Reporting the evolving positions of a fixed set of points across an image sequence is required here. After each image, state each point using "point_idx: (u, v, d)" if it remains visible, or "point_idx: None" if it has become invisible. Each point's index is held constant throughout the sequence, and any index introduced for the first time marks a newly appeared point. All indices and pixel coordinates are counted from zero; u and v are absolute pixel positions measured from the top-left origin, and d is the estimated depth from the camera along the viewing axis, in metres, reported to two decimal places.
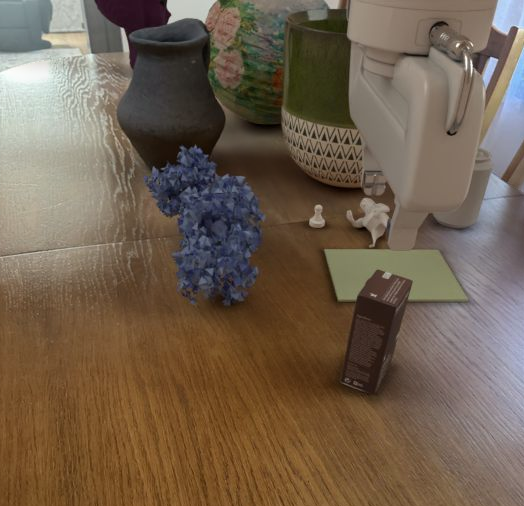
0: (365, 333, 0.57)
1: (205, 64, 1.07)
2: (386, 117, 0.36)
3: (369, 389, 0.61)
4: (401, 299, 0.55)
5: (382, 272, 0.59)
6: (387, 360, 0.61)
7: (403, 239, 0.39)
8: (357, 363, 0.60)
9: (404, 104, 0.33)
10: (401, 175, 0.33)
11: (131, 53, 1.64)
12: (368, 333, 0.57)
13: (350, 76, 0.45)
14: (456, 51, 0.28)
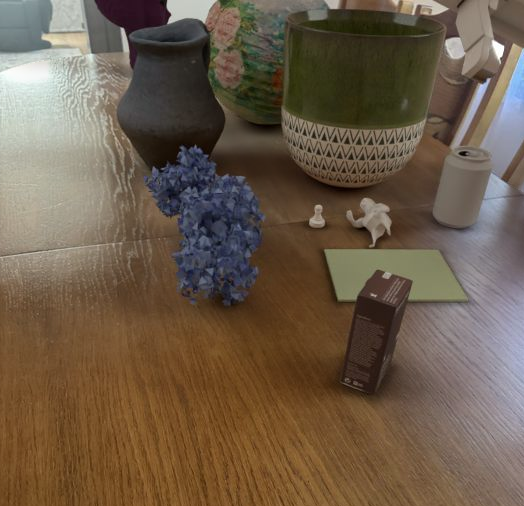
0: (365, 333, 0.57)
1: (205, 64, 1.07)
2: None
3: (369, 389, 0.61)
4: (401, 299, 0.55)
5: (382, 272, 0.59)
6: (387, 360, 0.61)
7: (472, 56, 0.34)
8: (357, 363, 0.60)
9: None
10: None
11: (131, 53, 1.64)
12: (368, 333, 0.57)
13: None
14: None
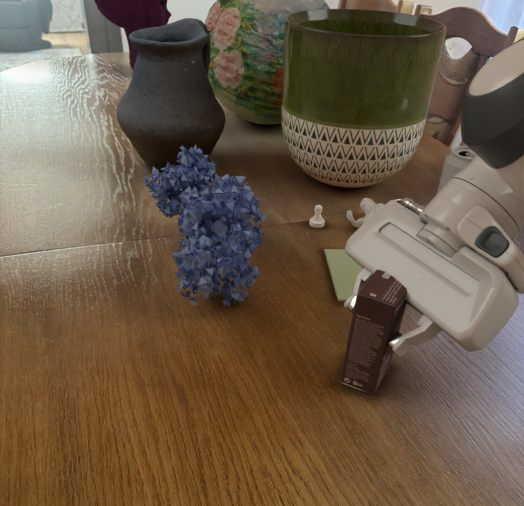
0: (365, 333, 0.57)
1: (205, 64, 1.07)
2: None
3: (369, 389, 0.61)
4: (401, 299, 0.55)
5: (382, 272, 0.59)
6: (387, 360, 0.61)
7: None
8: (356, 363, 0.60)
9: None
10: None
11: (131, 53, 1.64)
12: (367, 333, 0.57)
13: None
14: None
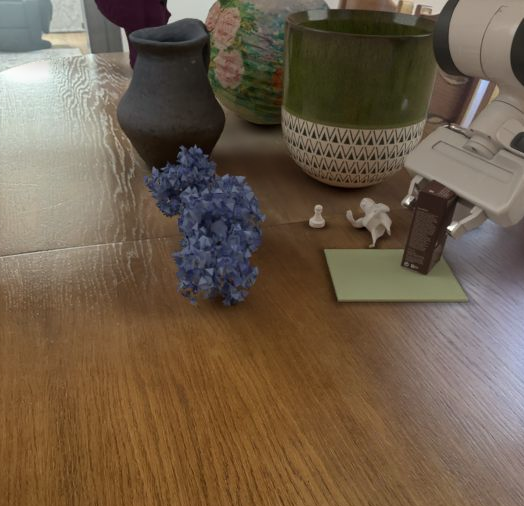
0: (423, 222, 0.77)
1: (205, 64, 1.07)
2: None
3: (423, 270, 0.81)
4: (452, 195, 0.75)
5: None
6: (438, 249, 0.81)
7: None
8: (415, 248, 0.80)
9: None
10: None
11: (131, 53, 1.64)
12: (425, 222, 0.77)
13: None
14: None
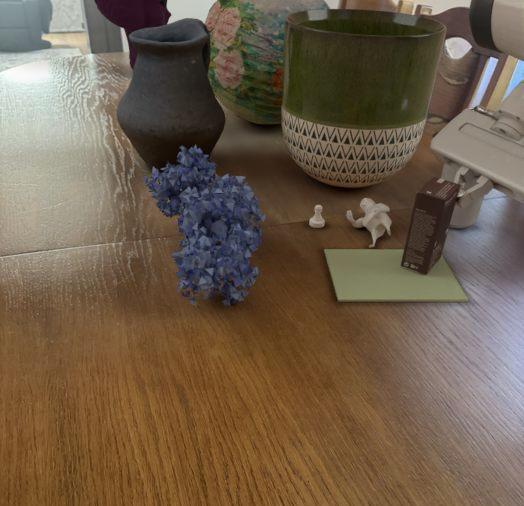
0: (421, 223, 0.77)
1: (205, 64, 1.07)
2: None
3: (422, 270, 0.81)
4: (450, 195, 0.74)
5: (437, 178, 0.78)
6: (438, 248, 0.80)
7: None
8: (414, 249, 0.80)
9: None
10: None
11: (131, 53, 1.64)
12: (423, 223, 0.77)
13: None
14: None
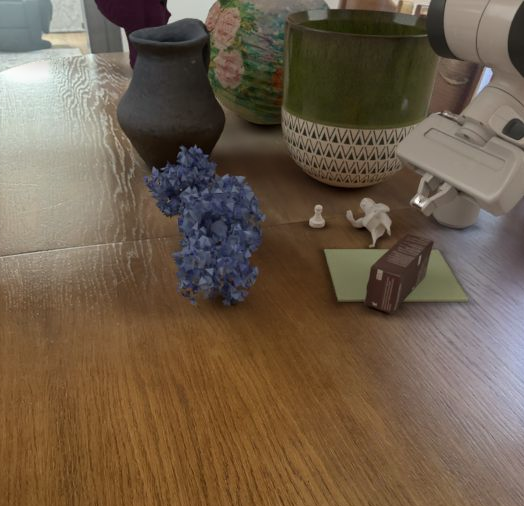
0: None
1: (205, 64, 1.07)
2: None
3: None
4: (394, 303, 0.72)
5: (375, 271, 0.71)
6: (421, 270, 0.77)
7: None
8: None
9: None
10: None
11: (131, 53, 1.64)
12: None
13: None
14: None
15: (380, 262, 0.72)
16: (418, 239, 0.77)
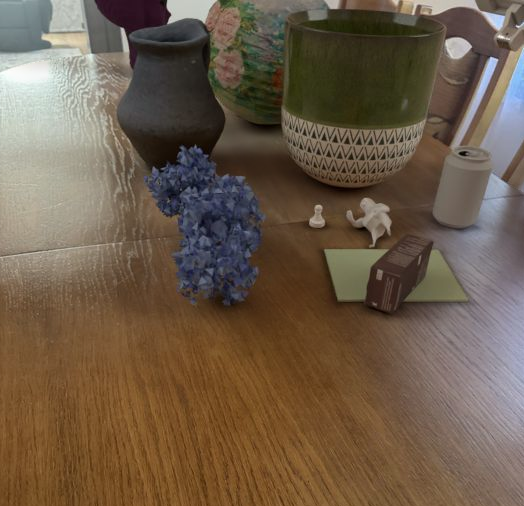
0: None
1: (205, 64, 1.07)
2: None
3: None
4: (394, 303, 0.72)
5: (375, 271, 0.71)
6: (421, 270, 0.77)
7: None
8: None
9: None
10: None
11: (131, 53, 1.64)
12: None
13: None
14: None
15: (380, 262, 0.72)
16: (418, 239, 0.77)
